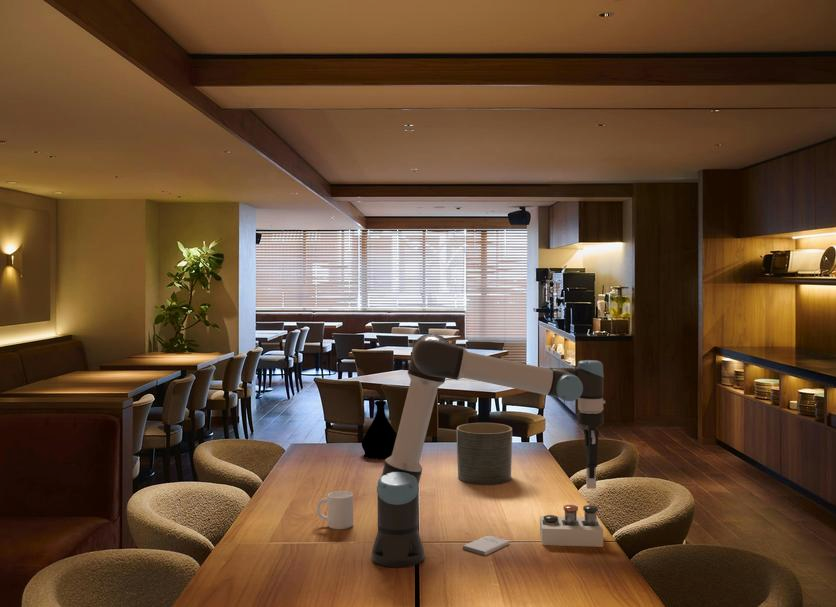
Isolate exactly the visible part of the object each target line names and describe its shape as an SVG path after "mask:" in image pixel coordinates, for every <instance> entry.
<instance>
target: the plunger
mask: <svg viewBox="0 0 836 607" xmlns="http://www.w3.org/2000/svg"><path fill="white" fill-rule="evenodd" d="M582 508H583V509H582V510H583V511H584V517H585V526H597V518H598V517H597V512H598V511H599V507H598V506H596V505H592V504H589V505H588V504H587V505H584V506H583V507H582Z"/></svg>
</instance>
